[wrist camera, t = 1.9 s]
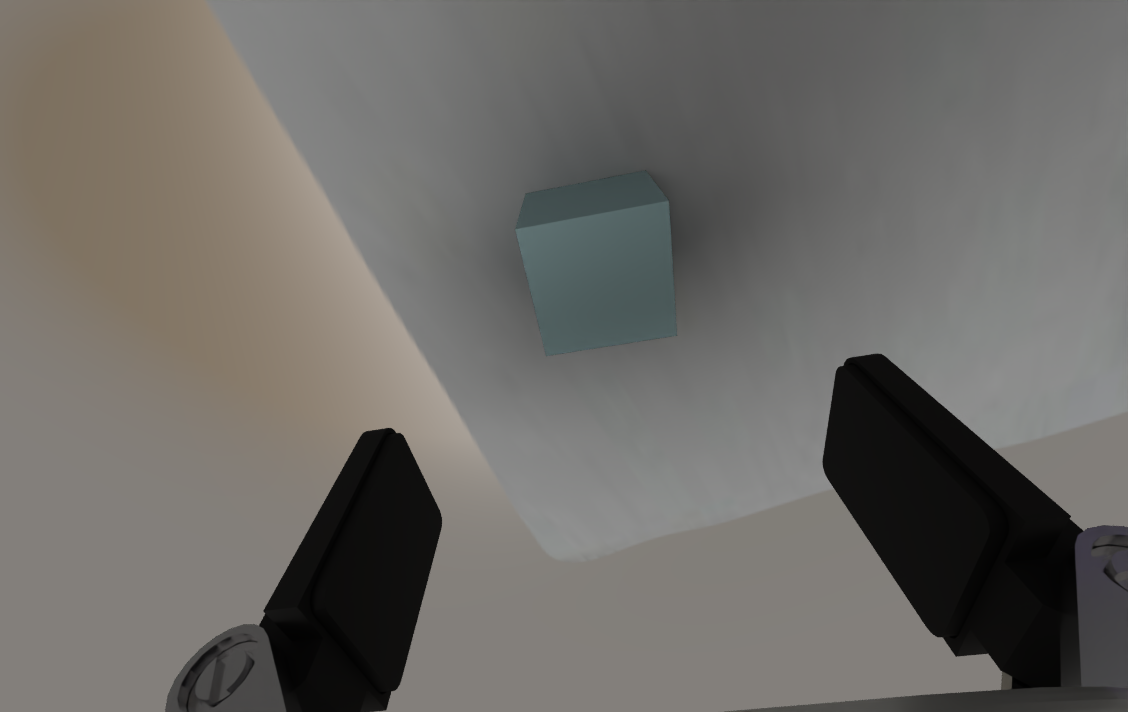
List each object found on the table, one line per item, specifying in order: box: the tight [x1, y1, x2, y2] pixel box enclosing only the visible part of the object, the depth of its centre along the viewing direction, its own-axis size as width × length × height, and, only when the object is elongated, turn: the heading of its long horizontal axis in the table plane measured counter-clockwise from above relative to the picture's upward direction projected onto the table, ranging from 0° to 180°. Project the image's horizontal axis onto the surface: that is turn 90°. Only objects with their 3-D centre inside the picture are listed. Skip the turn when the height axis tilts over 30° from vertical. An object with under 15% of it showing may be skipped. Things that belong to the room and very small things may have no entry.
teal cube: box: [515, 170, 677, 356], centre depth 18 cm, size 5×5×5 cm
